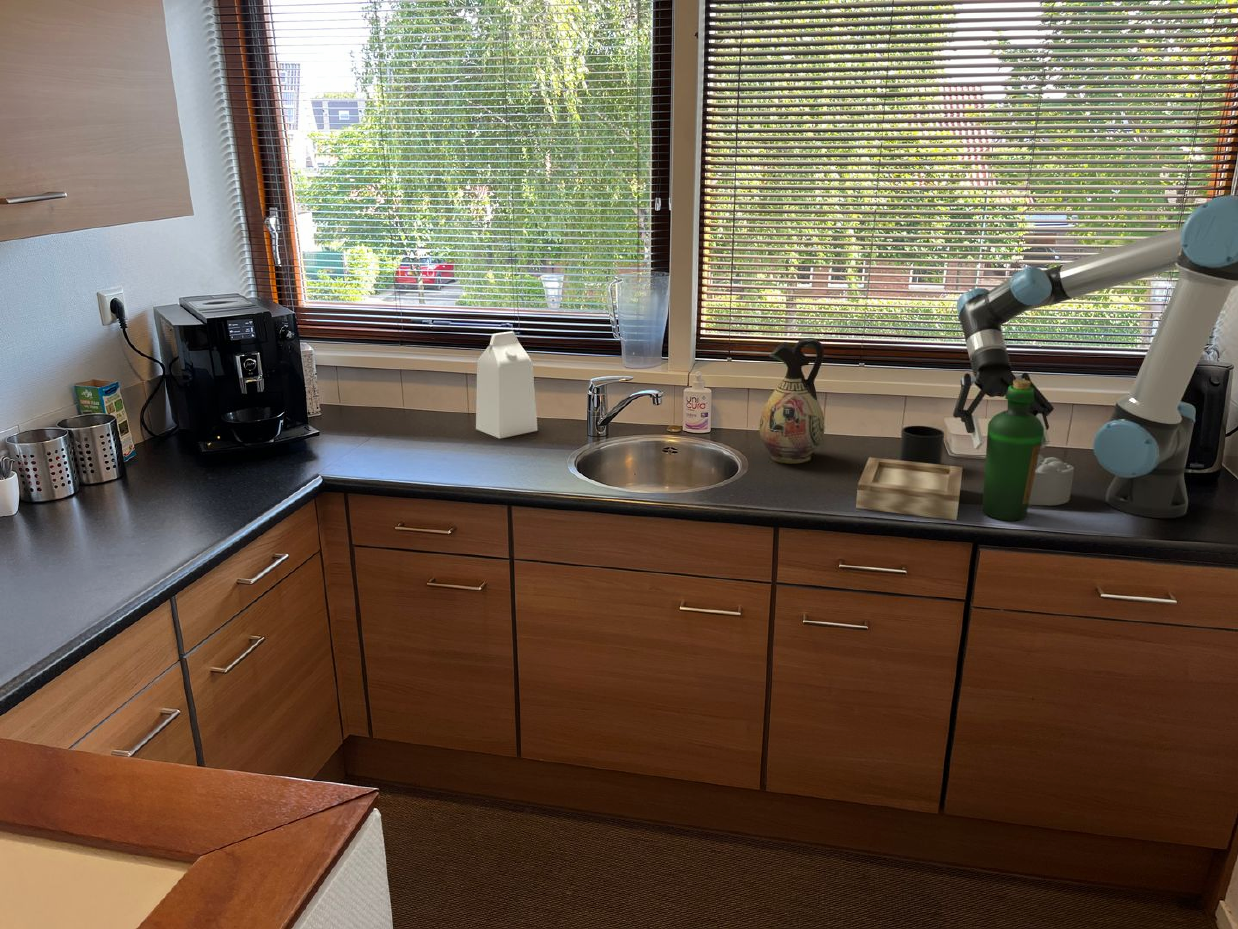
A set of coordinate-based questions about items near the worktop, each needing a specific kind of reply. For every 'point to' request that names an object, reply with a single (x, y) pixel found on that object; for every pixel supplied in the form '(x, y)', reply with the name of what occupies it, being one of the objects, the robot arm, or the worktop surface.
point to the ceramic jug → (794, 407)
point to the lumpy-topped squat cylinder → (1051, 482)
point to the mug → (921, 444)
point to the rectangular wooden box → (910, 488)
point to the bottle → (1012, 455)
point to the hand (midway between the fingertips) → (1012, 445)
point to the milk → (505, 389)
